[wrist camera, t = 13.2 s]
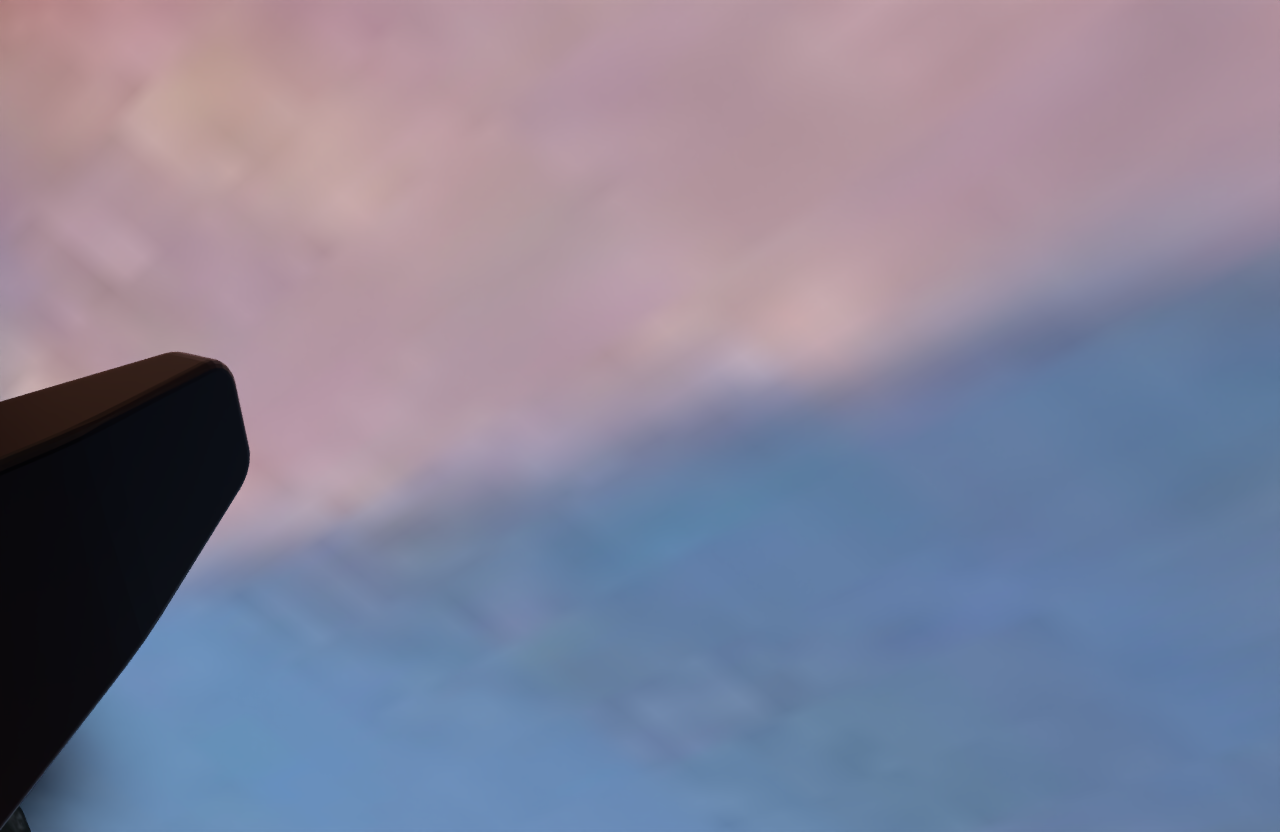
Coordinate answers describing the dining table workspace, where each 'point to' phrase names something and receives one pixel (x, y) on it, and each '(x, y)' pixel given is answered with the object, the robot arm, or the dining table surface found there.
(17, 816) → the squash
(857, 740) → the dining table surface
